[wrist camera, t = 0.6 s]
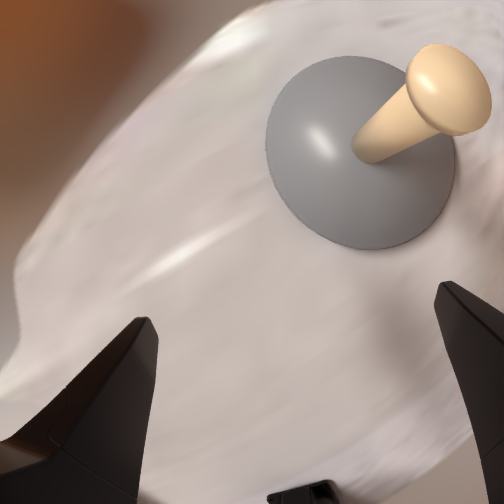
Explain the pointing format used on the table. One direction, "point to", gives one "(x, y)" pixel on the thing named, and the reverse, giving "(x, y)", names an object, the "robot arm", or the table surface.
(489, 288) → the table surface
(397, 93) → the cover
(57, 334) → the table surface
